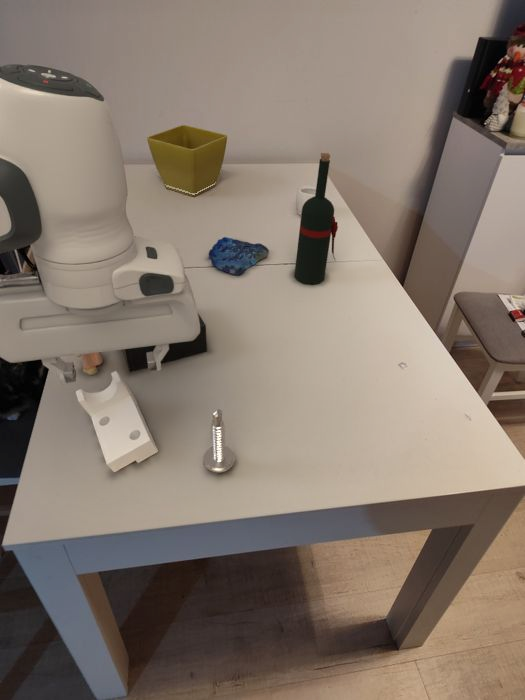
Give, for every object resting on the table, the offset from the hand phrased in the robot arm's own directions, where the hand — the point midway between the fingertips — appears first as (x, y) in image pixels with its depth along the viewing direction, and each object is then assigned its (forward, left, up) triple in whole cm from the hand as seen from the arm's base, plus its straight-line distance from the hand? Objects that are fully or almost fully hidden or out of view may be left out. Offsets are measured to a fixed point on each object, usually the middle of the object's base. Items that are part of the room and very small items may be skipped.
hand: (113, 373), depth 51 cm
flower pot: (+45, +108, -24) cm, 119 cm away
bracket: (-1, +10, -24) cm, 26 cm away
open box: (+12, +32, -23) cm, 42 cm away
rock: (+40, +57, -24) cm, 74 cm away
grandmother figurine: (-2, +30, -24) cm, 38 cm away
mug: (+73, +76, -24) cm, 108 cm away
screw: (+12, -2, -24) cm, 26 cm away
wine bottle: (+55, +41, -24) cm, 73 cm away
